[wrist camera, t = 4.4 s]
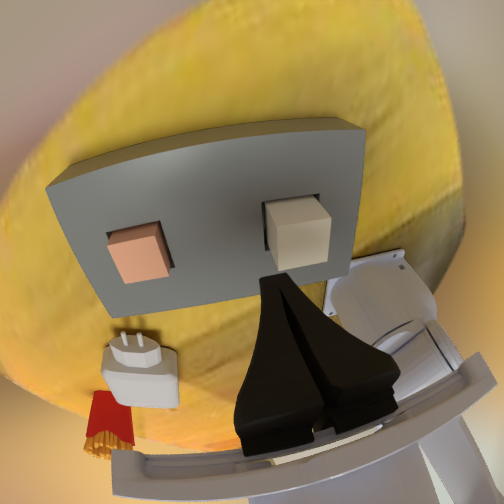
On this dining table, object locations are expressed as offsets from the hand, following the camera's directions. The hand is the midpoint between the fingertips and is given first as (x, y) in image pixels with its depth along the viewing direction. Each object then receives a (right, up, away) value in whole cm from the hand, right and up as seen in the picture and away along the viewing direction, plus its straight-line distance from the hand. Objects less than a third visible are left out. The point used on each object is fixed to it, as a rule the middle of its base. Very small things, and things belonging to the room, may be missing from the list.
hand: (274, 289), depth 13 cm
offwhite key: (+1, +4, +5) cm, 6 cm away
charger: (-15, -11, +17) cm, 25 cm away
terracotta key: (-9, +3, +5) cm, 10 cm away
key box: (-4, +5, +7) cm, 10 cm away
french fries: (-25, -22, +24) cm, 41 cm away
